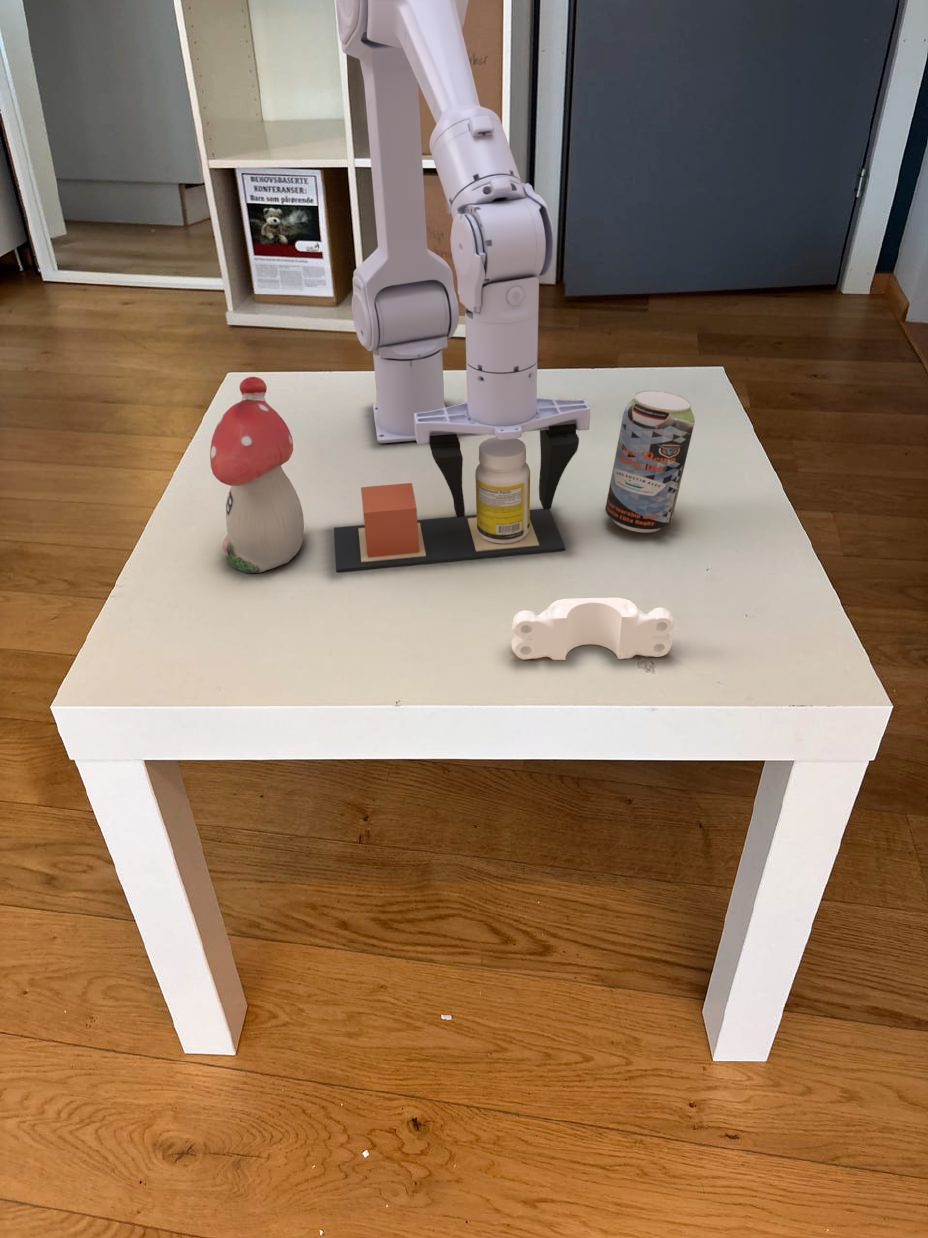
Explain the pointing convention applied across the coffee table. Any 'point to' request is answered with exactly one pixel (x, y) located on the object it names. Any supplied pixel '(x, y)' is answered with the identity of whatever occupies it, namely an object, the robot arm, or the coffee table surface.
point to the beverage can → (650, 460)
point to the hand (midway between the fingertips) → (502, 507)
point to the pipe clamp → (592, 629)
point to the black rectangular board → (447, 543)
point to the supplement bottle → (502, 491)
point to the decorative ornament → (256, 483)
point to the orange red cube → (390, 519)
